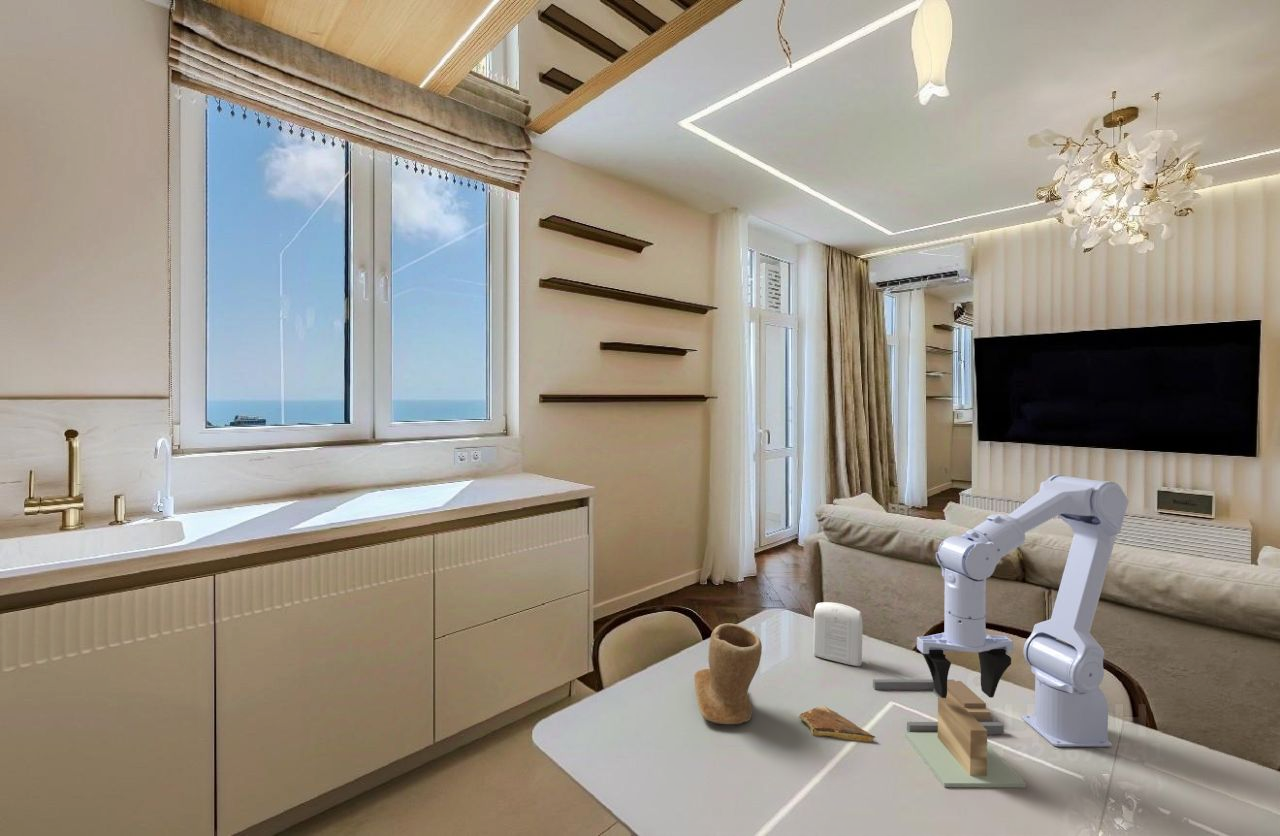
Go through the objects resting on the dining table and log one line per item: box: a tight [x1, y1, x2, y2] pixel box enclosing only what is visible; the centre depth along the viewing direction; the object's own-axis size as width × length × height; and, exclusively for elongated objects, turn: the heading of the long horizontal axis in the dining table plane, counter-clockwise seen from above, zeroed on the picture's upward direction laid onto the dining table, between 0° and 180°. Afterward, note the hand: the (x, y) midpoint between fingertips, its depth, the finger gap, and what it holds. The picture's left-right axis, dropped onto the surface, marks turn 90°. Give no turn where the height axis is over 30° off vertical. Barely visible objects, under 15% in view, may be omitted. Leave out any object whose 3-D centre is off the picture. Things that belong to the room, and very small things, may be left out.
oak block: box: [937, 696, 988, 776], centre depth 84 cm, size 2×9×7 cm, turn 179°
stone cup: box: [693, 623, 763, 725], centre depth 100 cm, size 15×12×15 cm
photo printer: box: [812, 601, 863, 667], centre depth 117 cm, size 10×4×12 cm, turn 59°
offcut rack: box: [872, 678, 1005, 735], centre depth 98 cm, size 16×15×3 cm
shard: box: [798, 706, 876, 742], centre depth 92 cm, size 11×8×2 cm
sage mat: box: [904, 731, 1027, 788], centre depth 85 cm, size 12×12×1 cm
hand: (964, 694), depth 87 cm, fingers open, 7 cm apart
